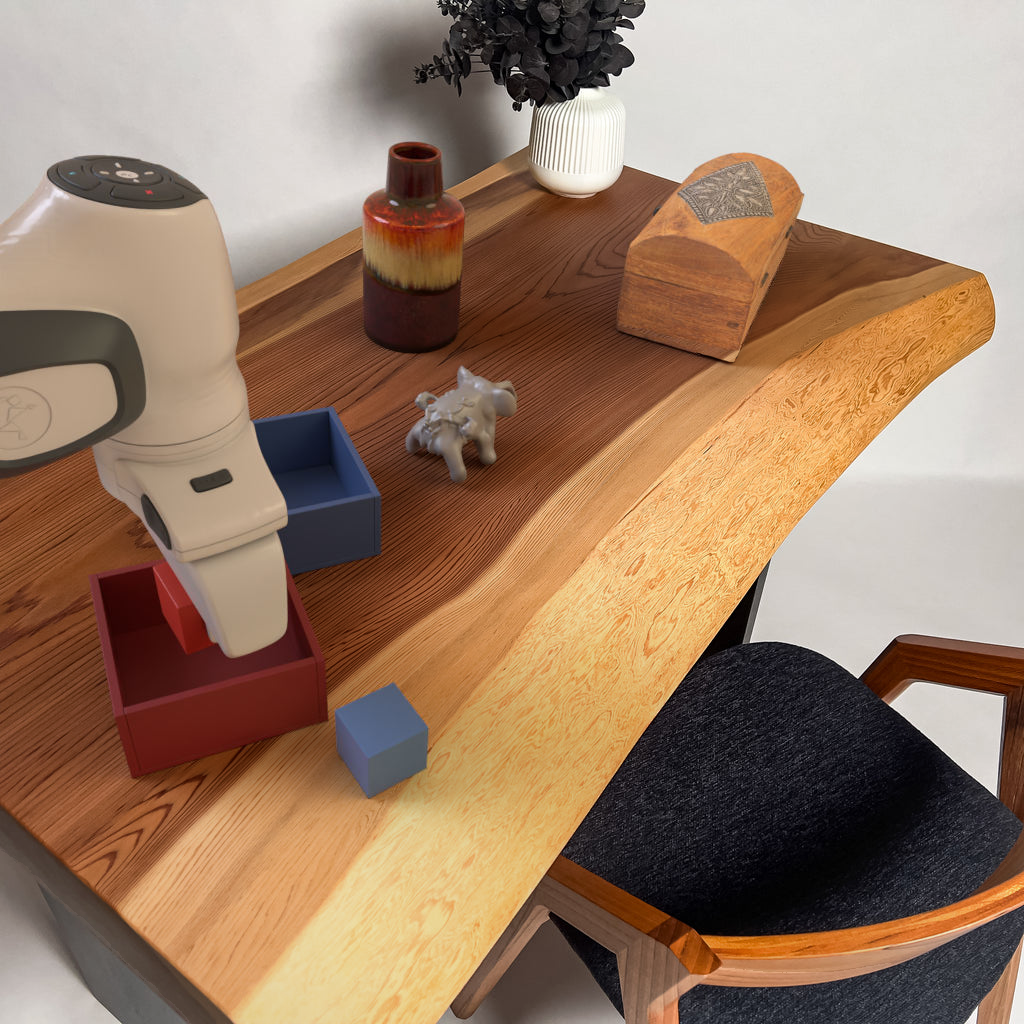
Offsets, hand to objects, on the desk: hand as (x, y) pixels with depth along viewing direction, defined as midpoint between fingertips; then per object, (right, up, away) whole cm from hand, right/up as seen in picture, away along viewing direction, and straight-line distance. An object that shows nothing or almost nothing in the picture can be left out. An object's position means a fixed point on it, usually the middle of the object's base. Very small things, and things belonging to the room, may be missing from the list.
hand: (203, 605), depth 65 cm
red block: (0, -1, +1) cm, 2 cm away
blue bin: (+1, +5, +18) cm, 19 cm away
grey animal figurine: (+16, +12, +29) cm, 35 cm away
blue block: (+12, -11, +1) cm, 16 cm away
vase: (+9, +27, +45) cm, 53 cm away
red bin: (-1, -6, +5) cm, 8 cm away
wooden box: (+45, +34, +58) cm, 81 cm away
